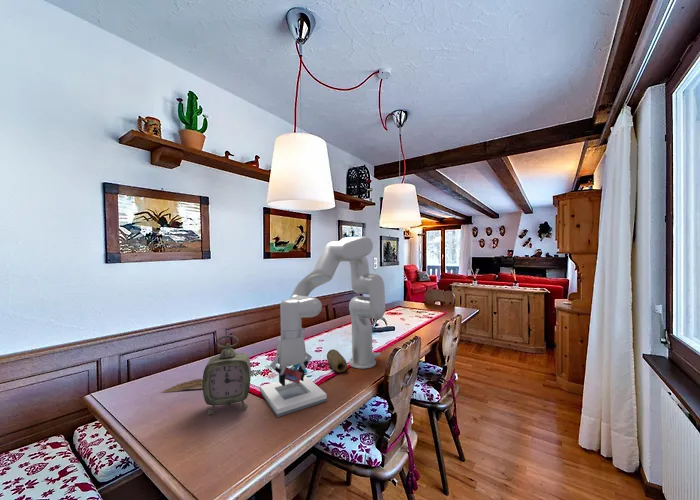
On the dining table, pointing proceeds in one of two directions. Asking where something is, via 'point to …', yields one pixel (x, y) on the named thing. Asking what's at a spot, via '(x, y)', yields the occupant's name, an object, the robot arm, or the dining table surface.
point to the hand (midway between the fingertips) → (291, 381)
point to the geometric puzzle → (292, 375)
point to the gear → (297, 367)
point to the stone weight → (336, 361)
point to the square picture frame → (292, 396)
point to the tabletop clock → (227, 377)
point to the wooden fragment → (187, 386)
